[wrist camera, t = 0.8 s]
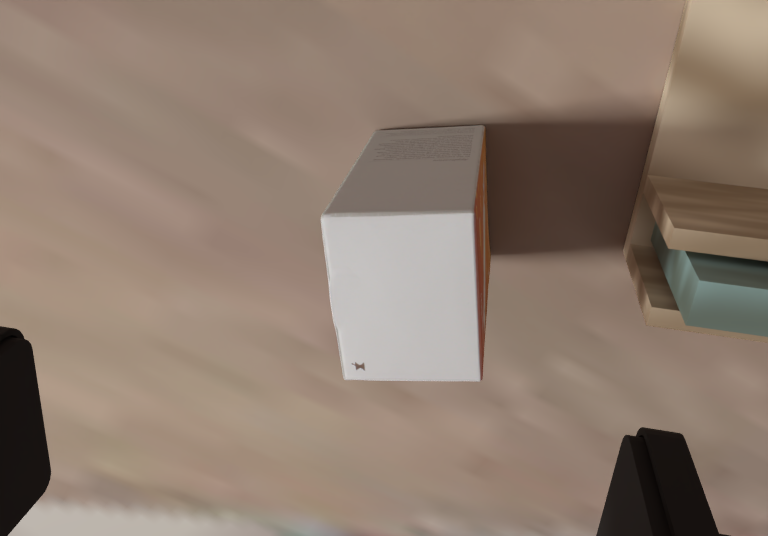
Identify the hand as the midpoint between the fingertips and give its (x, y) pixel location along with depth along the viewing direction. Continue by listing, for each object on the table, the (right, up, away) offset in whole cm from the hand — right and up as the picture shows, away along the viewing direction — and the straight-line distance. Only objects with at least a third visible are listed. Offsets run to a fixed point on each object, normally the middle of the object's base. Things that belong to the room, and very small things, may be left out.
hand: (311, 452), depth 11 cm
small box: (+4, +7, +30) cm, 31 cm away
